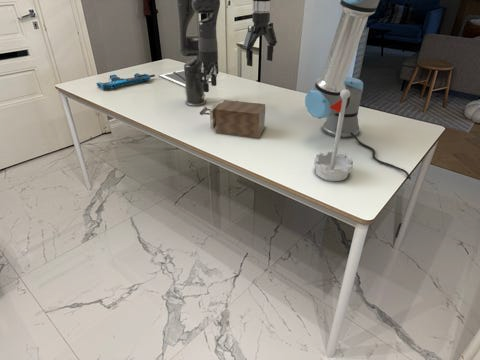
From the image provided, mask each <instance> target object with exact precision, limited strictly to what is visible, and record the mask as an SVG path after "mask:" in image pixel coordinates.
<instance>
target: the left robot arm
mask: <svg viewBox="0 0 480 360" xmlns="http://www.w3.org/2000/svg"><path fill="white" fill-rule="evenodd" d="M220 6H221V0H176V11H177V21H178V23H177V24H178V50H179V54H180V56H181V57H184V58H185V57H193V58H192V59H191V60H189V61H187V62H185V64H183V70H184V73H185V79H184V78H183V77H181V76H180V75H178V74H177V73H175V72H176V71H172V72H173V73H175V74H176V75H178V76H179V77H181V78H182V79H183V80H184V81H185V86H186V87H185V96H186V97H185V98H186V104H187V105H188V106H191V107H198V106H202V105H205V103H206V99H205V98H206V93H209V92H210V86H212V87H216V86H217V77H218V75H219V52H218V49H219V47H218V37H217V23H218V16H219V12H220ZM195 14H199V15H200V14H209V15H208V17H207V18H204V19H202V20H199V21H198V23H197V32H198V33H197V34H198V35H197V34H196V35H195V34H194V35H193V34H192V35H187V32H188V29H189V25H190V23H191V21H192V19H193V18H194V16H195ZM209 79H211V81H210V82H209ZM210 84H211V85H210ZM209 85H210V86H209Z"/></svg>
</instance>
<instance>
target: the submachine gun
mask: <svg viewBox="0 0 480 360" xmlns="http://www.w3.org/2000/svg"><path fill="white" fill-rule="evenodd" d="M154 77H156V74H147V73H142V74H141V73H139V72H137V73H135V74H133V77H128V78H121V77H119V76H118V75H117V74H110V75H109V79H111V81H107V82H96V83H95V84H96V87H98V88H99V89H101V90H102V91H103V90H109V89H113V90H116V88H118V87H119V88H120V87H122V86H127V85H133V84H138V83H142V82H148V81H149V80H150V79H151V78H154Z"/></svg>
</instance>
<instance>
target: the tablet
mask: <svg viewBox="0 0 480 360" xmlns="http://www.w3.org/2000/svg"><path fill="white" fill-rule="evenodd" d="M173 72H175V73H177V74H178V75H180V76H181V77H183V78H184V79H185V73H184V69H182V70H181V69H180V70H176V71H172V72H167V73H163V74H158V76H159V77H161V78H163V79H165V80H167V81H170V82H173V83H175V84H177V85H179V86H182V87H184V88H186V86H185V81H184V80H183V79H182V78H181V77H179V76H178V75H176V74H175V73H173ZM208 83H211V78H209V82H208Z"/></svg>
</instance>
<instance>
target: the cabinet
mask: <svg viewBox="0 0 480 360" xmlns="http://www.w3.org/2000/svg"><path fill="white" fill-rule="evenodd" d="M220 103H221V104H220V105H219V106H218V107H217V108H216V127H215V130H216V134H221V135H229V136H237V137H245V138H252V139H259V138H260V137H261V134H262V132H263V131H264V129H265V128H266V127H265V126H266V125H265V124H266V103H259V102H258V103H257V102H249V101H240V100H239V101H238V100H231V99H230V100H229V99H223V100H222V102H220Z"/></svg>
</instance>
